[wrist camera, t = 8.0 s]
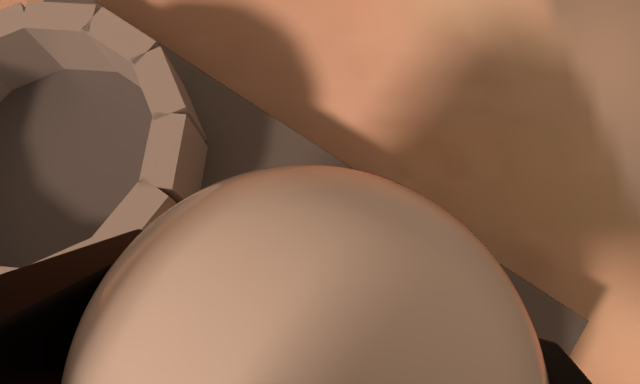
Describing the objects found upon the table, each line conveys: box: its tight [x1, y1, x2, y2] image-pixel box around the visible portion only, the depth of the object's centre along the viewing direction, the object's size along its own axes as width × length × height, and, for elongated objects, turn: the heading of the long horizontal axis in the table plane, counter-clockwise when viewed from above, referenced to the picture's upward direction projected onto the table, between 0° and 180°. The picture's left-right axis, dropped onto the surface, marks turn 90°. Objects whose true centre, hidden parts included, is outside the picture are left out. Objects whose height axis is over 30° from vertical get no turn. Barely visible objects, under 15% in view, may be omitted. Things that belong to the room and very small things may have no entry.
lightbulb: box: [61, 165, 549, 384], centre depth 10 cm, size 6×6×11 cm
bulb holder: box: [0, 0, 588, 356], centre depth 16 cm, size 22×11×4 cm, turn 54°
